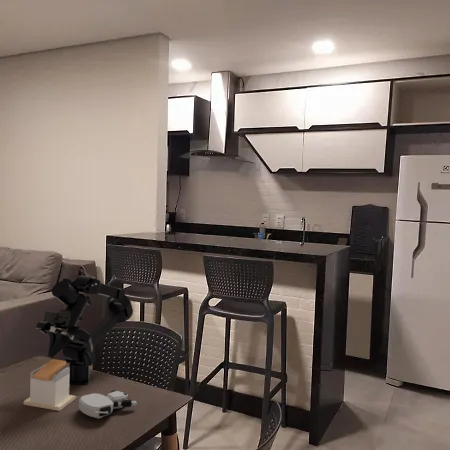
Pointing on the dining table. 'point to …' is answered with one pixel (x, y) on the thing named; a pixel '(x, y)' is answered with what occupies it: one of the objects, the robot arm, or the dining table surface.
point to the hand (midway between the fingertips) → (49, 357)
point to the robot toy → (103, 403)
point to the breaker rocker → (49, 369)
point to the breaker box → (50, 391)
